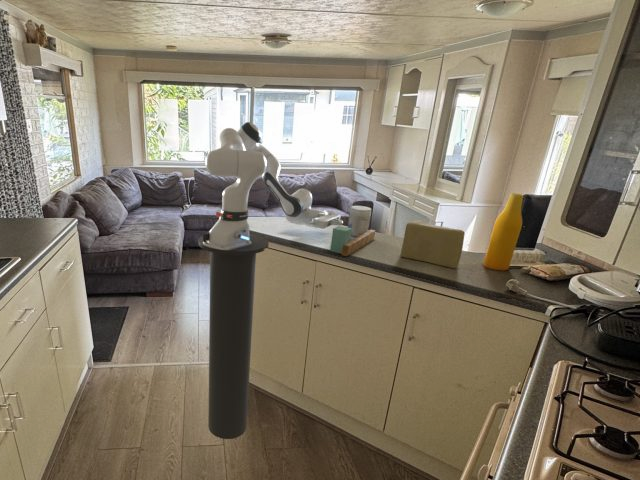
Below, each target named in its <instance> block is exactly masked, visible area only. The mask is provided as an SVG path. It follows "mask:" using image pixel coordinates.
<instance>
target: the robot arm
mask: <svg viewBox="0 0 640 480" xmlns="http://www.w3.org/2000/svg"><path fill="white" fill-rule="evenodd" d="M262 137H263V136H262V132H261V130H260V127H258V126H257V125H256V124H255V123H252V122H250V121H246V122H244V123H243V124H242V125H241V127H240V128H239V129H238V130H236V129H234V128H233V127H227V128H224V129H222V131H221V132H220V134H219V138H218V148H217V149H214V150H211V151H209V152H208V154H207V155H206V157H205V162H204V163H205V168H206V171H207V173H209V175H211V176H215V177H219V178H236V180H235V182H234V183H232V184H231V185H229V186H226V188H224V190H223V191H222V199H221V209H220V211H216V212H215V216H216V217H218V218H219V219H218V220H217V221H216V222H215V224H214V225H213V226H212V228H211V229H210V230H208V231H206V232H204V233H202V236H203V241H204V242H203V245H205V246H207V247H210V248H214V249H219V250H232V249H236V248H240V247H244V246H248V245H251V244H252V242H251V241H250V233H251V232H250V224H249V222H248V218H249V209H248V203H249V194H250V191H251V188H252V186H253V185H254V183H256V181H257V180H258V179H259V178H260V177H261V179H262V182H263V184H264V185H265V187H266V188H267V190H268V191H269V192H270V194H271V195H272V196H273V198H274V199H275V200H276V202H277V203H278V204H279V206H280V208H281V210H282V211H283V213H284V217H285V219H286V221H288V222H289V223H291V224H294V225H299V226H305V227H309V228H314V229H321V230H322V229H323V230H324V229H327V228H329V227H332V226H343V225H344V221H343V220H341V217H342V216H341V214H339V213H335V212H331V211H327V210H326V209H314V208H312V204H313V194H312V193H311V191H310V190H309V189H307V188H304V187H303V188H299V189H297V190H296V191H295V192H293V193H292V194H290V193H288V192H287V190H286V189H285V188H284V187H283V185H282V184H281V183H280V181H279V175H280V172H281V163H280V161H279V160H278V158H277V157H276V156H275V155H274V154H273V153H272V152H271V151H270V150H269V149H267V148H266V147H265V146H264V145H262V143H263V141H262ZM206 240H207V241H206Z"/></svg>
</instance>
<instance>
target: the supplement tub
mask: <svg viewBox="0 0 640 480" xmlns="http://www.w3.org/2000/svg"><path fill="white" fill-rule="evenodd" d="M371 215H372V208H371V207H369V206H363V205H352V206H351V207H350V210H349V215H348V223H347V228H352V230H351V237H350V241H351V240H353V239H354V238H356V237H358V236H360V235H362V234H363V233H365V232H367V231H369V227H370V222H371V217H372V216H371Z"/></svg>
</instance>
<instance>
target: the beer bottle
mask: <svg viewBox="0 0 640 480" xmlns="http://www.w3.org/2000/svg"><path fill="white" fill-rule="evenodd" d="M523 201H524V194H521V193H510V195H509V197H508V199H507V202H506V204H505V207H504V209H503V210H502V211H501V212H500V214H499V215H498V216H497V218H495V219H496V220H495V222H494V224H493V228H492V231H491V235H490V238H489V239H490V240H489V242H488V246H487V250H486V253H485V256H484V260H483V266H484V267H485V268H487V269H490V270H494V271H503V272H504V271H507V270H509V268H510V266H511V263H512V260H513V256H514V253H515V250H516V247H517V243H518V239H519V236H520V233H521V230H522V228H523V216H522V205H523Z"/></svg>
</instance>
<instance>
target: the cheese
mask: <svg viewBox="0 0 640 480" xmlns="http://www.w3.org/2000/svg"><path fill="white" fill-rule="evenodd" d="M465 234H466V233H465V231H464V230H462V229H459V228H452V227H446V226H441V225H436V224H431V223H429V222H425V221H422V220H419V219H417V220H412V221H409V222H407V223H406V225H405V231H404V235H403V240H402V244H401V245H402V247H401V252H400V257H401V258H405V259H410V260H411V259H412V260H415V261H420V262H425V263H428V264H433V265H437V266H442V267H446V268H449V269H450V268H451V269H458V268H459V264H460V261H461V257H462V252H463V248H464V240H465Z"/></svg>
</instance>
